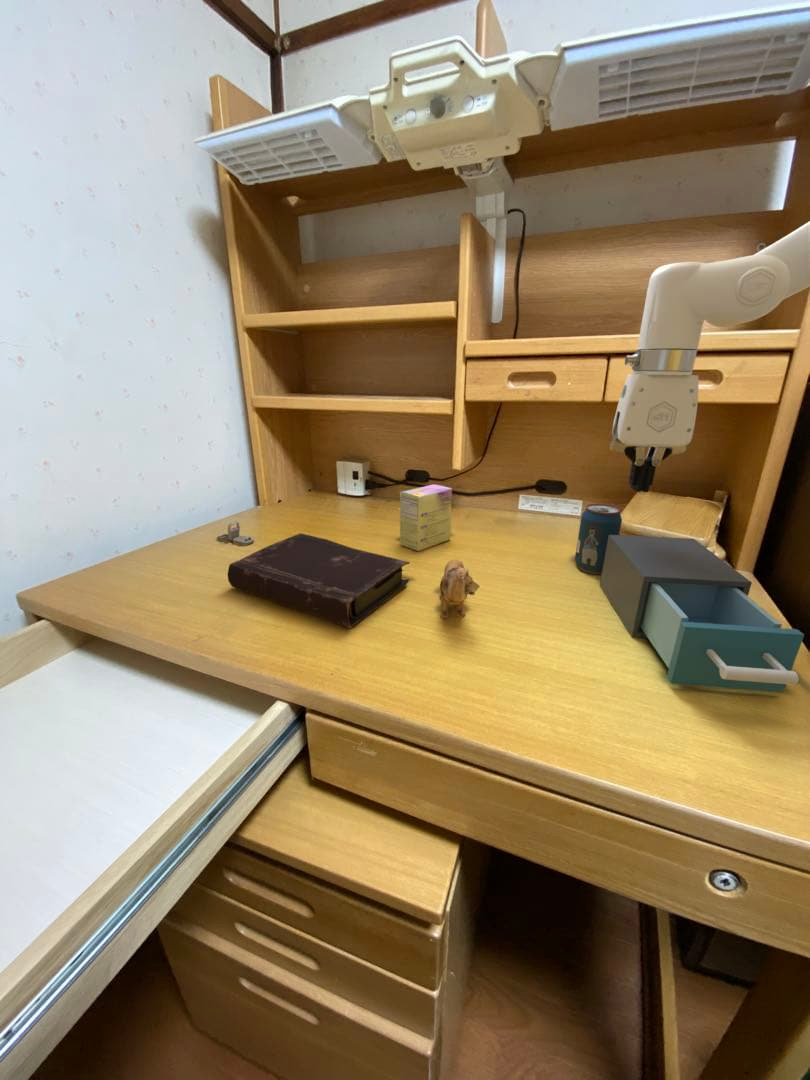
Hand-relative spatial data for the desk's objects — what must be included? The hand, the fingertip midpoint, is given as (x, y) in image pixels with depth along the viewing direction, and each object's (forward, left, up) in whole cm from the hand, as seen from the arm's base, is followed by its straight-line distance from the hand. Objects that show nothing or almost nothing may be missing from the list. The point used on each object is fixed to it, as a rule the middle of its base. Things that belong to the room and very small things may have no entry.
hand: (638, 489), depth 72 cm
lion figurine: (+28, +9, -18) cm, 34 cm away
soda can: (+2, -10, -18) cm, 21 cm away
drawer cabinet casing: (-4, +6, -18) cm, 20 cm away
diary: (+51, +5, -18) cm, 54 cm away
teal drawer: (-4, +20, -17) cm, 27 cm away
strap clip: (+76, -14, -18) cm, 79 cm away
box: (+35, -19, -18) cm, 44 cm away
